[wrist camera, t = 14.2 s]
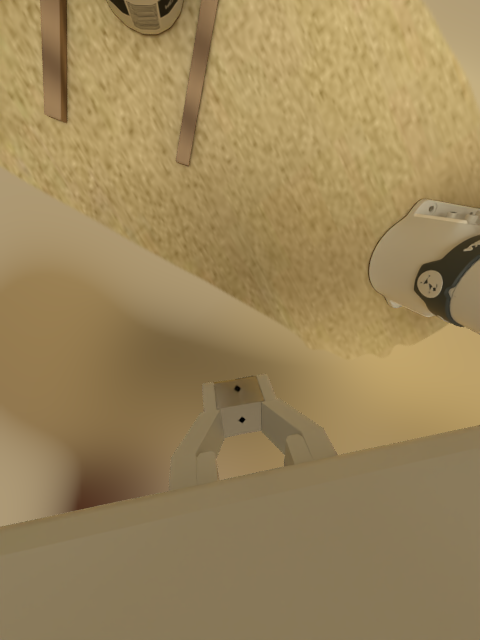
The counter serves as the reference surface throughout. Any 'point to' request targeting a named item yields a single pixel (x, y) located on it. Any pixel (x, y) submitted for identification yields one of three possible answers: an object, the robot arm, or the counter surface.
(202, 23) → the u-shaped wooden rack
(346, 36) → the counter surface
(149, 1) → the supplement can
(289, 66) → the counter surface
